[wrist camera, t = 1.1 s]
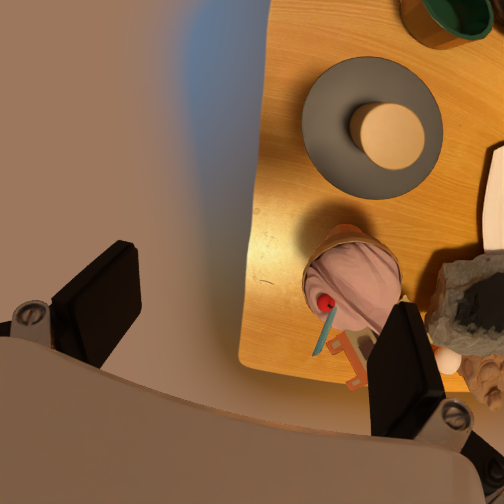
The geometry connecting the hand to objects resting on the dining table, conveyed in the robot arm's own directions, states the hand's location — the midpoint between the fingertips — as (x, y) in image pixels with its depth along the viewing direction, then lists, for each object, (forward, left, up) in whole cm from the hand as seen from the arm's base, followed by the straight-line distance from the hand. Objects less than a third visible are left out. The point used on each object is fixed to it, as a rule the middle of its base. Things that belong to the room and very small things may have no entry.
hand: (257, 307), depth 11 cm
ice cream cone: (+13, +1, -32) cm, 34 cm away
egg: (+38, +11, -29) cm, 49 cm away
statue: (+47, +19, -32) cm, 60 cm away
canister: (-11, +25, -32) cm, 42 cm away
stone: (+26, +23, -22) cm, 42 cm away
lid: (-2, +8, -13) cm, 15 cm away
